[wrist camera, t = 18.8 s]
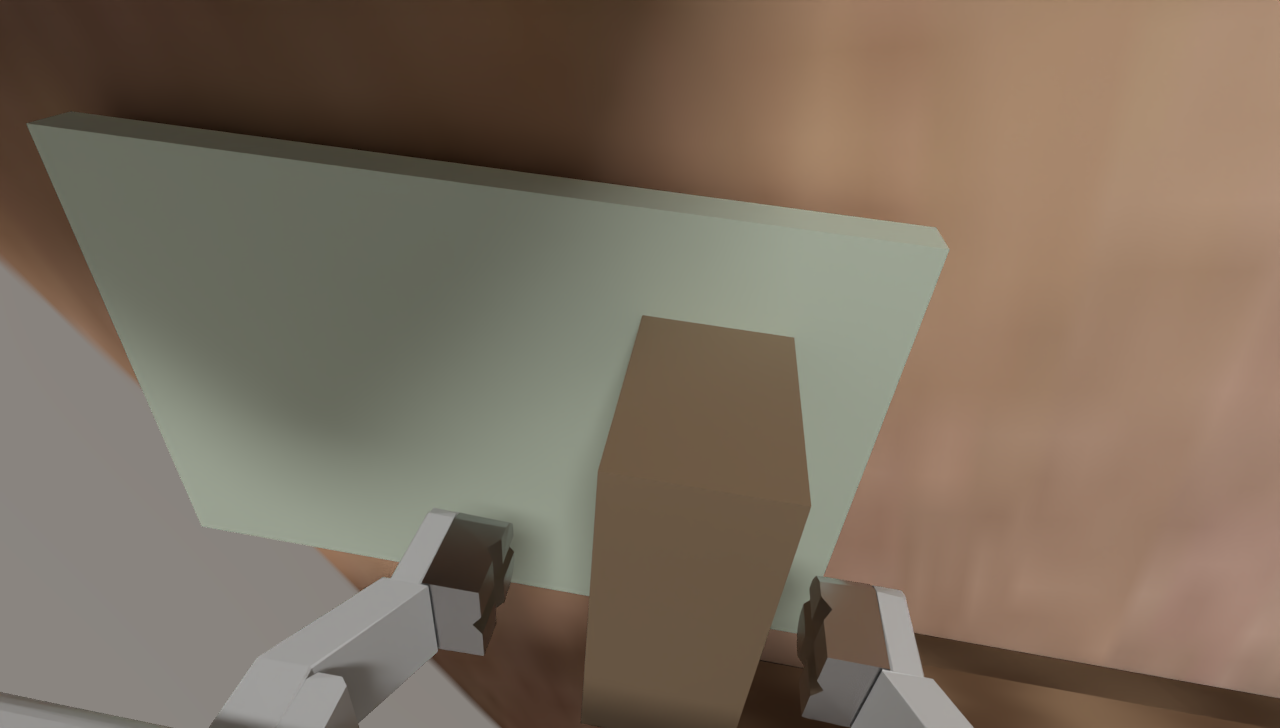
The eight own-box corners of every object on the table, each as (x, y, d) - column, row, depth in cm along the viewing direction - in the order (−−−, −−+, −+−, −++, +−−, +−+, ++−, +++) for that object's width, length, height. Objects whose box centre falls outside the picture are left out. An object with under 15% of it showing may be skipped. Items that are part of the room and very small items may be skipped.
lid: (924, 208, 13) (1046, 406, 8) (796, 574, 19) (813, 820, 14) (110, 100, 14) (-281, 205, 9) (245, 478, 21) (67, 671, 15)
